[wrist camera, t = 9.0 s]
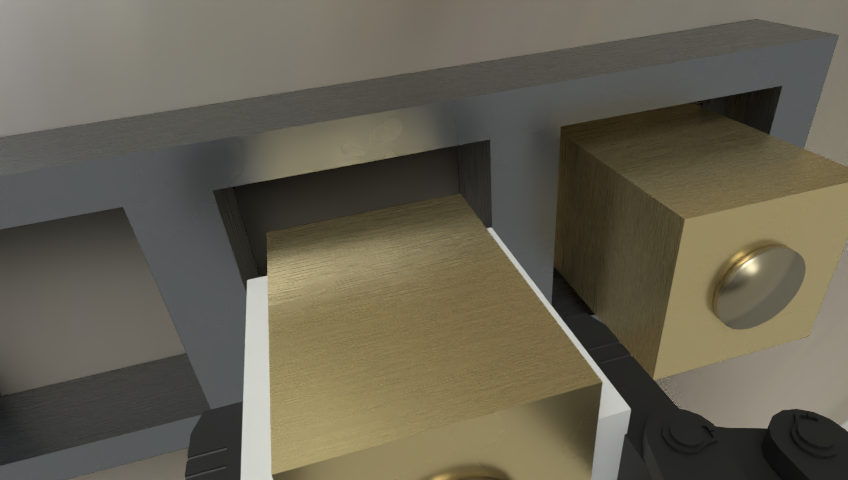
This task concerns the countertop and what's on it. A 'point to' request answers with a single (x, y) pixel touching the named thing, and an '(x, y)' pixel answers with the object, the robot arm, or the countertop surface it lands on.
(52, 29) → the countertop surface
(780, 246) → the beige framed knobbed block
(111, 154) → the rack
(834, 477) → the robot arm
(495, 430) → the cube with silver knob
